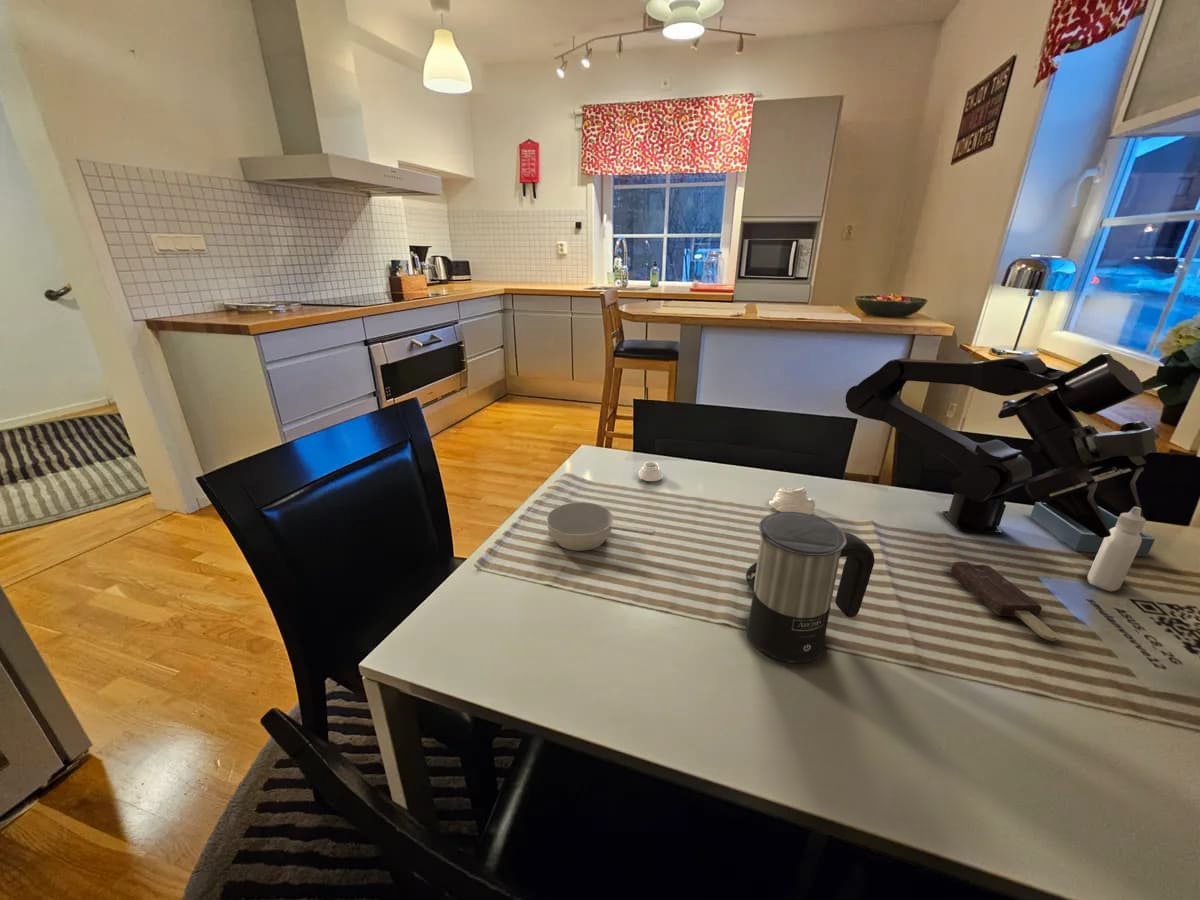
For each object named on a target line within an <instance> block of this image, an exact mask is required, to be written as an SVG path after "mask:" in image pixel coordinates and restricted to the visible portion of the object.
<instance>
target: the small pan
mask: <svg viewBox="0 0 1200 900" xmlns="http://www.w3.org/2000/svg"><path fill="white" fill-rule="evenodd" d="M546 523H547V525H546V526H547V530H548V532H549V534H550V536H551V537H552V538H553V539H554V541H555V543H556V544H557V545H558V546H560V547H561V548H563V549H566V550H570V551H581V552H582V551H589V550H593V549H596V548H598V547H600V546H601V545H603V544H604V542H605V541H606V539H607V538H608V537H609V535H610V533H611V531H612V530H617V531H622V532H628V533H634V534H641V535H647V536H653V535H655V534H656V530H655V529H653V528H646V527H639V526H634V525H627V524H620V523H614V516H613V514H612V512H611V511H610V510H609V509H608V508H606V507H604V506H602V505H600V504H596V503H591V502H583V501H582V502H580V501H579V502H570V503H565V504H561V505H559V506H556V507H555V508H553V509H552V510H551V511H549V513H548V514H547V516H546Z"/></svg>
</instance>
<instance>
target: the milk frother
mask: <svg viewBox="0 0 1200 900" xmlns="http://www.w3.org/2000/svg"><path fill="white" fill-rule="evenodd" d="M758 525H759V526H758V528H759V529H758V530H759V531H760V538H759V545H758V552H757V560H756V562H754V563H753V564H752V565H750V566H749V567H748V569H747V570H746V573H745V577H746V578H745V579H746V583H747V585H748V587H749V588H750V589H751V590H752V597H751V604H750V610H749V615H748V617H747V618H746V621H745V632H746V635H747V637H748V639H749V641H750V642H751V643H752V645H753V646H755V647H756V649H758V650H759V651H761V652H762V653H764V654H765V655H767V656H769V657H771V658H774V659H775V660H779V661H781V662H785V663H791V664H804V663H810V662H813V661H815V660H817V659H819V658H820V656H822V655H823V653H824V652H825V651H826V650H825V649H826V647H827V646H826V645H827V642H826V634H827V628H828V627H827V626H828V622H829V618H830V617H829V616H830V611H831V606H832V600H833V595H834V591H835V585H836V580H837V575H838V570H839V564H840V560H841V559H840V558H844V557H845V561H844V564H843V567H842V572H841V576H840V579H839V583H838V584H839V585H838V588H837V591H836V595H835V600H834V602H835V605H836V607H837V608H838V609H839V610H840V612H841V613H842V614H843V615H845V617H847V618H853V617H856V616H857V615H858V614H859V612H860V609H861V606H862V604H863V600H864V597H865V594H866V591H867V589H868V584H869V581H870V579H871V575H872V572H873V569H874V566H875V554H874V552H873V550H872V549H871V547H870V546H869V545H868V544H867V543H866V542H865V541H864V540H863V539H862V538H860V537H859V536H857V535H855V534H853V533H850V532H849V531H848V532H847V531H843V530H842V529H841V528H840V527H839V526H838V525H837V524H835V523H833V522H832V521H830V520H827V519H826V518H823V517H820V516H817V515H814V514H811V515H810V514H805V513H801V512H780V511H778V512H774V513H770V514H768V515H766V516H764V517H763V518H761V520H760V521H759V524H758Z"/></svg>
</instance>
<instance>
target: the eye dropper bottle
mask: <svg viewBox="0 0 1200 900" xmlns="http://www.w3.org/2000/svg"><path fill="white" fill-rule="evenodd" d="M1141 509H1142V507H1141V508H1139V507H1133V508H1132V510H1131V511H1130V512H1128V513H1119V517H1118V521H1117V523H1116V525H1115V527H1114V528H1111V529H1110V530H1109V531H1110V533H1111V536H1109V537H1104V540H1103V542H1102V544H1101V546H1100V549H1099V551H1098V552H1096V555H1095V558H1094V560H1093V562H1092V565H1091V567H1090V569H1089V571H1088V574H1087V581H1088V583H1089V584H1090V585H1091V586H1093V587H1095V588H1098V589H1101V590H1104V591H1106V592H1107V591H1108V592H1115V591H1117V590H1119V589H1120V588H1121V587H1122V584H1123V583H1124V581H1125V579H1126V577H1127V574H1128V572H1129V571H1130V568H1131V567H1132V564H1133V562H1134V559H1135V558H1136V556H1135V555H1136V553H1137V551H1138V549H1139V547H1140V545H1141V542H1142V539H1141V536H1140V534H1139V533H1140V532H1141V531H1142V530H1143V528H1144V526H1145V524H1146V521H1147V519H1146V518H1145V517H1144V516H1143V517H1144V518H1143V517H1141V516H1140V512H1141Z"/></svg>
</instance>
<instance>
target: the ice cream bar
mask: <svg viewBox="0 0 1200 900" xmlns="http://www.w3.org/2000/svg"><path fill="white" fill-rule="evenodd" d="M949 571H950V575H951V576H952V577H953V578H954V580H956V581H958V582H959V583H960V584H961V585H962V586H963V587H964V588H965V589H966V590H967V591H969V593H971V594H972V595H973V596H974V597H976V598H977V600H979V601H980V602H981V603H983V604H984V605H985V606H986V607H987V608H988V609H989V610H990V611H992V613H994V614H995V615H996V616H998V617H1015V616H1016V617H1017V618H1018V619H1020V620H1021V621H1022V622H1023V623H1024V624H1025V625H1027V626H1028V627H1029V628H1031V629H1032V631H1034V632H1035V633H1037V635H1039V636H1040V637H1041V638H1043V639H1044V640H1046V641H1047V640H1048V641H1051V642H1055V641H1057V639H1058V634H1057V633H1056V632H1055V631H1054V630H1053V629H1052V628H1050V627H1049V626H1048V625H1046V624H1045V623H1044V622H1043V621H1042V620H1040V619H1039V618H1038V617H1039V616H1040V615H1041V612H1042V609H1043V607H1042V606H1041V604H1039V603H1038V602H1037V601H1036V600H1034V599H1033V598H1032V597H1030V596H1029V595H1028V594H1026V593H1025V592H1024V591H1022V590H1021V589H1020V588H1019V587H1017V586H1016V585H1015V584H1013V583H1012V582H1011V581H1009V580H1008V579H1007V578H1006V577H1005V576H1003V575H1002V574H1001V573H999V572H998V571H997V570H995V568H993V567H991V566H990V565H987V564H974V563H971V562H968V561H955V562H953V563H952V564H951V567H950V570H949ZM1037 616H1038V617H1037Z"/></svg>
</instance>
